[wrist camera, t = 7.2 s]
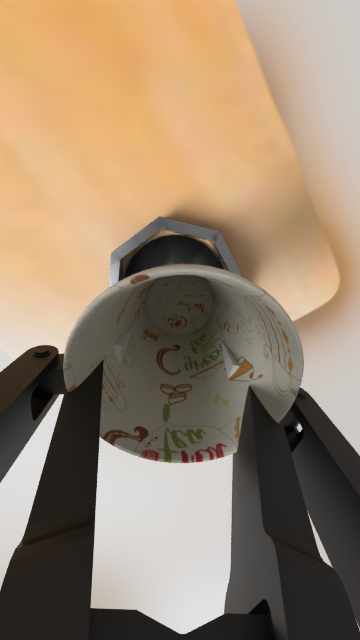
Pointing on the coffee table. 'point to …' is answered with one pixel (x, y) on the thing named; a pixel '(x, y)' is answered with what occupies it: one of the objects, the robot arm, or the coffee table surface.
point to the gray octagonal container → (171, 249)
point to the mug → (184, 360)
